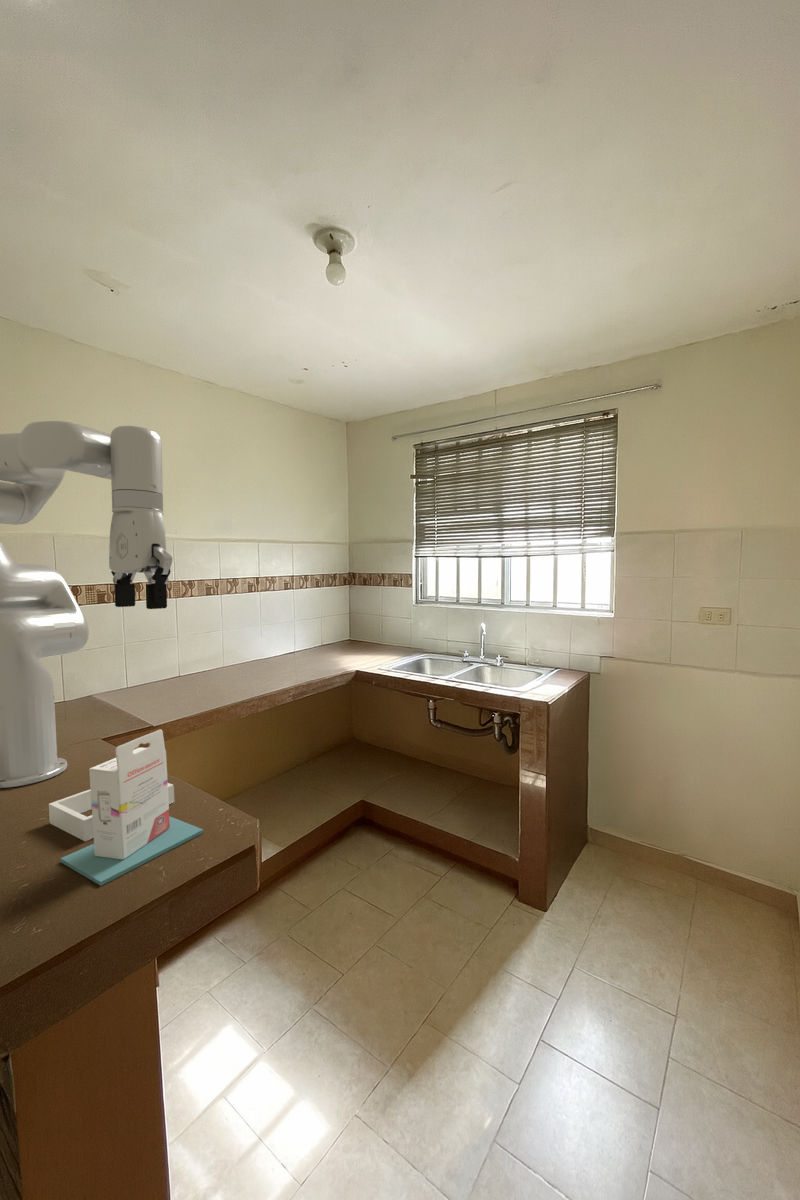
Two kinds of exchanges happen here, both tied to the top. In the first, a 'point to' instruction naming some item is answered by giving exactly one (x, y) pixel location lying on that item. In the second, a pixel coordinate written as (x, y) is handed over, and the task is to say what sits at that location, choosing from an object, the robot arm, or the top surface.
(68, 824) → the white rectangular frame
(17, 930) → the top surface
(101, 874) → the mat
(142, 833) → the ink cartridge box
